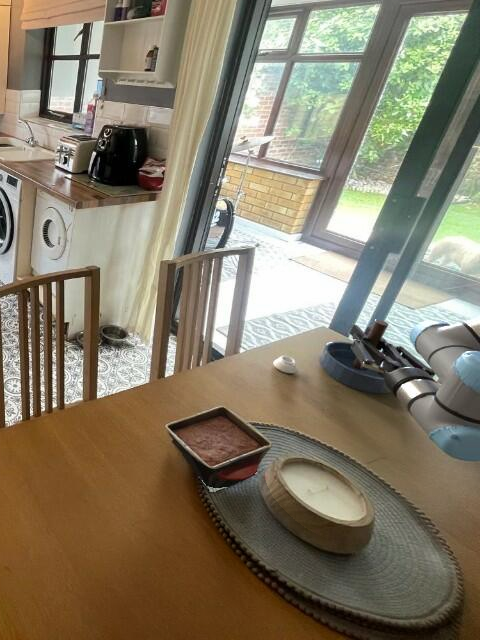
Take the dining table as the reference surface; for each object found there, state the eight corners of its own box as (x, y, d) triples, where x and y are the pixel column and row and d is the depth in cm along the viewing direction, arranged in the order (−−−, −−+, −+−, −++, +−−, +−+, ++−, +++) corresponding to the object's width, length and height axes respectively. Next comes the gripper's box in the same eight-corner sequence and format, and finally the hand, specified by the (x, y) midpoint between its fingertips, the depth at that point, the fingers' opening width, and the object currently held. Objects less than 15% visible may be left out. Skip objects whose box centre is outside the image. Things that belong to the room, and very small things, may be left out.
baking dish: (153, 444, 91) (158, 416, 85) (222, 420, 93) (231, 391, 88) (200, 509, 79) (210, 480, 73) (278, 479, 81) (292, 449, 76)
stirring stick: (364, 367, 106) (388, 322, 100) (364, 371, 105) (388, 326, 99) (352, 363, 108) (375, 318, 102) (352, 367, 106) (375, 322, 100)
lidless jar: (285, 361, 113) (268, 362, 113) (289, 353, 112) (272, 353, 112) (300, 374, 109) (282, 374, 108) (304, 365, 107) (286, 366, 107)
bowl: (393, 373, 109) (402, 358, 107) (393, 404, 99) (402, 389, 97) (321, 348, 118) (328, 334, 116) (314, 374, 108) (321, 360, 106)
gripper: (366, 396, 91) (320, 336, 111) (454, 413, 87) (389, 347, 107) (381, 370, 88) (330, 313, 108) (473, 386, 84) (402, 323, 104)
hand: (360, 330), depth 108 cm, fingers closed on stirring stick, 2 cm apart
